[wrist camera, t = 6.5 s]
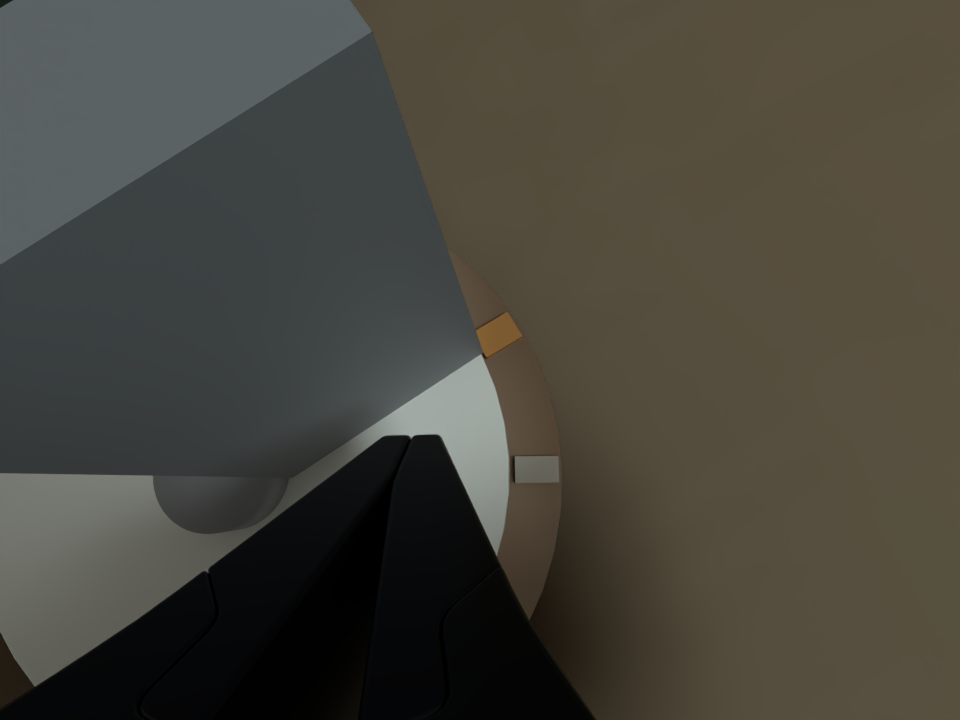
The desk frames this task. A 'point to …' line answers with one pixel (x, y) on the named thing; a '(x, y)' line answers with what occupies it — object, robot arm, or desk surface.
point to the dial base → (520, 439)
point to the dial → (206, 298)
